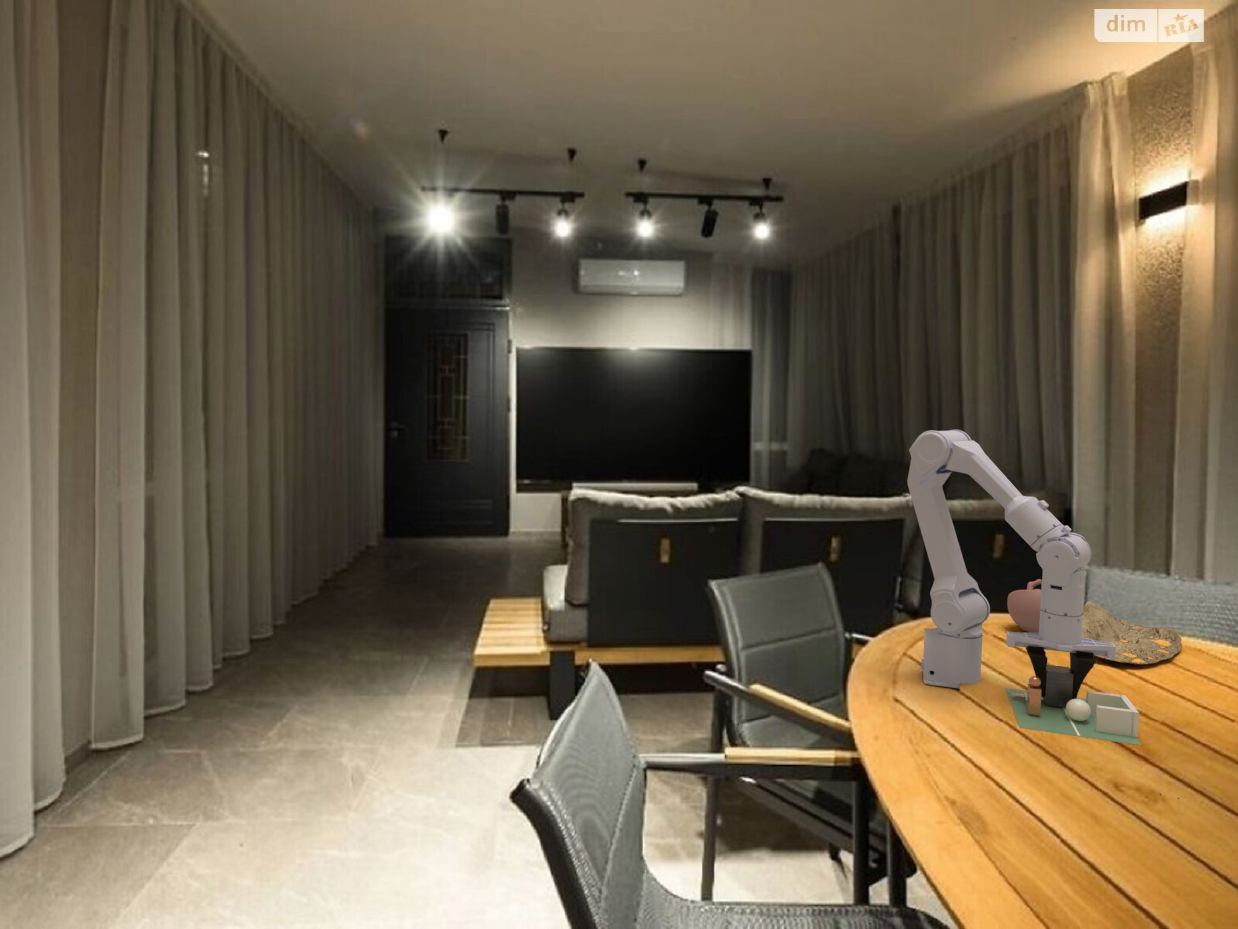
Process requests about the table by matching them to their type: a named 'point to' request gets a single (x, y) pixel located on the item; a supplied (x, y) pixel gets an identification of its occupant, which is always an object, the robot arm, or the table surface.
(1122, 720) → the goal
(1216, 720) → the table surface
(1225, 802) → the table surface
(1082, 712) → the ball
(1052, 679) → the knob lever
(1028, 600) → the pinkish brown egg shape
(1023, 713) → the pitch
